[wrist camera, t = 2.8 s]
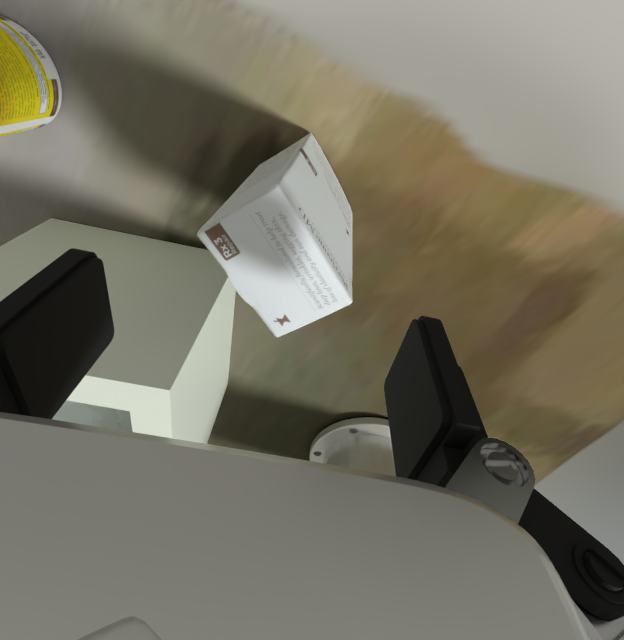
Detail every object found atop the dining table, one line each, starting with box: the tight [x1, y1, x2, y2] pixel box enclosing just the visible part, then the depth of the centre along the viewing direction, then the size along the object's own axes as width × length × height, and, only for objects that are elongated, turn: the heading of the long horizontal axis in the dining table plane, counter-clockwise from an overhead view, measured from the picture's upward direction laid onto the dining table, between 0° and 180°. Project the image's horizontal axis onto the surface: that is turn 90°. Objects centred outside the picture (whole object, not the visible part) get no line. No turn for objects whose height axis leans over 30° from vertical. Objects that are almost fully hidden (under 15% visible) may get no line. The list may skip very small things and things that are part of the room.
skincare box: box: [197, 133, 353, 337], centre depth 20 cm, size 6×4×12 cm
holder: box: [0, 218, 236, 444], centre depth 26 cm, size 14×14×14 cm
